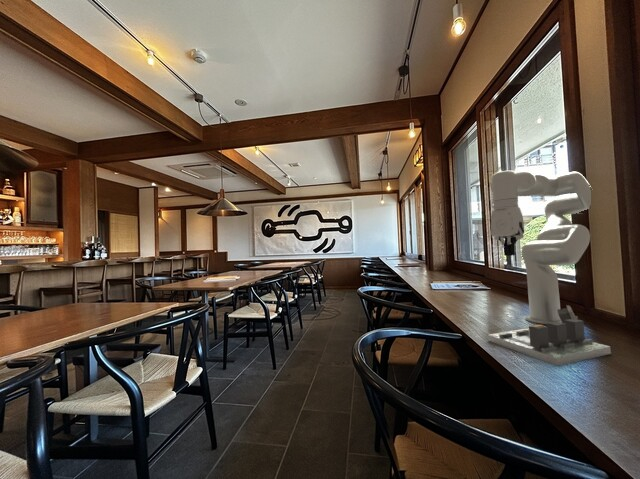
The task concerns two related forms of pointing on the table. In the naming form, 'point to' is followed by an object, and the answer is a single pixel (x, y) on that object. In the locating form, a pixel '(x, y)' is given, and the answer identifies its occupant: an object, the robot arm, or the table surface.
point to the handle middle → (557, 332)
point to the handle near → (575, 329)
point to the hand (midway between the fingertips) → (509, 255)
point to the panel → (550, 347)
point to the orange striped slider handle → (538, 336)
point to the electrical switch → (566, 314)
